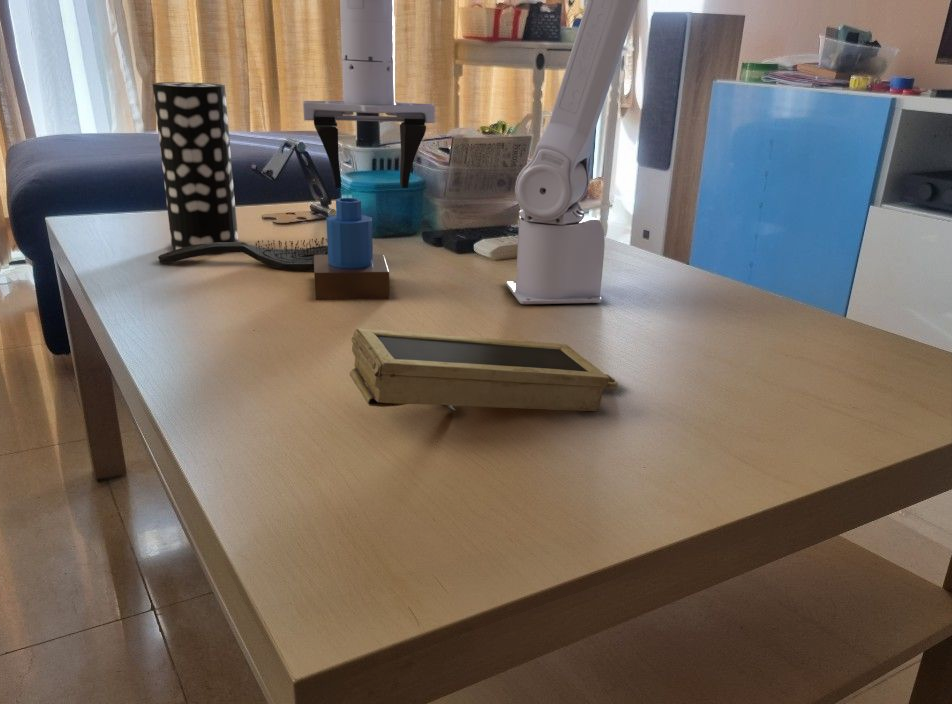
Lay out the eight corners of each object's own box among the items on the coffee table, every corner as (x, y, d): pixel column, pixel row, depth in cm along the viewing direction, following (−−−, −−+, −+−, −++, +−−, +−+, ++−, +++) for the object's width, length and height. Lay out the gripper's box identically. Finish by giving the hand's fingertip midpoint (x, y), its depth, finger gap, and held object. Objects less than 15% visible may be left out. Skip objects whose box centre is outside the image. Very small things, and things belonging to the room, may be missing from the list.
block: (383, 278, 100) (383, 254, 98) (389, 298, 92) (389, 271, 91) (315, 279, 98) (313, 254, 97) (315, 299, 91) (314, 272, 90)
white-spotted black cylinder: (252, 246, 111) (239, 86, 103) (200, 257, 105) (182, 87, 97) (210, 236, 115) (194, 81, 107) (158, 246, 109) (137, 82, 101)
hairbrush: (163, 232, 104) (365, 224, 108) (168, 260, 106) (367, 252, 109) (147, 248, 97) (365, 239, 100) (153, 279, 98) (368, 268, 102)
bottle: (371, 257, 97) (369, 196, 94) (374, 268, 92) (372, 204, 89) (328, 257, 96) (325, 195, 93) (328, 269, 91) (325, 204, 88)
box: (341, 386, 65) (349, 325, 64) (584, 395, 76) (598, 343, 74) (369, 431, 59) (379, 365, 57) (632, 434, 69) (648, 378, 67)
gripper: (301, 59, 87) (308, 192, 92) (439, 64, 90) (438, 192, 95) (300, 57, 93) (306, 181, 98) (429, 62, 96) (429, 182, 102)
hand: (371, 186), depth 97 cm, fingers open, 7 cm apart
